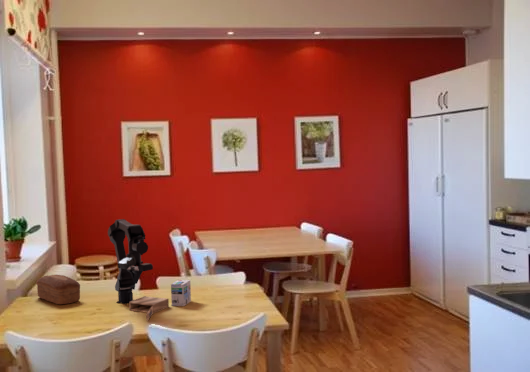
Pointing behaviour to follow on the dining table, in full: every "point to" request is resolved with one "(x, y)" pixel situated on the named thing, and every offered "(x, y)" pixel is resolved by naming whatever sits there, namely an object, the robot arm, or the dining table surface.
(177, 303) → the light bulb box
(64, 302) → the bread
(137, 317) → the dining table surface
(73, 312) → the dining table surface
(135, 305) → the brown piece
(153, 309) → the flap
